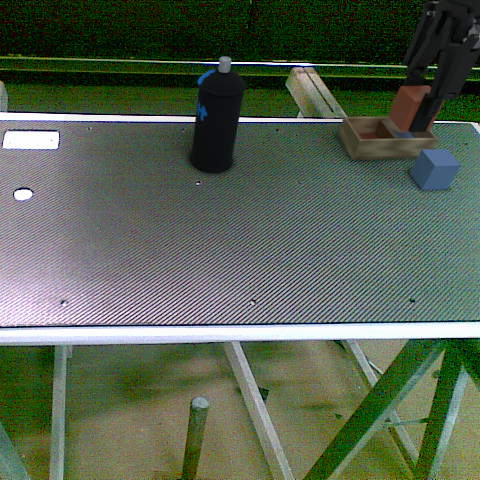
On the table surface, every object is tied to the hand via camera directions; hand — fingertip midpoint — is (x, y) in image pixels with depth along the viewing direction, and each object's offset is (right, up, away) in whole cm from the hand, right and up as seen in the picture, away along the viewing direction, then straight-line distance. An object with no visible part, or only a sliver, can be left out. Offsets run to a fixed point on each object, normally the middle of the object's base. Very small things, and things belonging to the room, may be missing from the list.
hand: (408, 121), depth 80 cm
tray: (+3, -1, +17) cm, 17 cm away
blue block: (+8, -9, +9) cm, 15 cm away
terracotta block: (0, 0, 0) cm, 0 cm away
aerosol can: (-32, -5, +11) cm, 34 cm away
